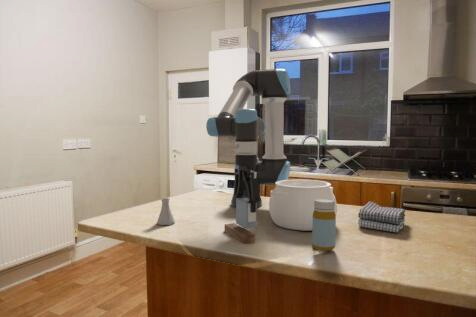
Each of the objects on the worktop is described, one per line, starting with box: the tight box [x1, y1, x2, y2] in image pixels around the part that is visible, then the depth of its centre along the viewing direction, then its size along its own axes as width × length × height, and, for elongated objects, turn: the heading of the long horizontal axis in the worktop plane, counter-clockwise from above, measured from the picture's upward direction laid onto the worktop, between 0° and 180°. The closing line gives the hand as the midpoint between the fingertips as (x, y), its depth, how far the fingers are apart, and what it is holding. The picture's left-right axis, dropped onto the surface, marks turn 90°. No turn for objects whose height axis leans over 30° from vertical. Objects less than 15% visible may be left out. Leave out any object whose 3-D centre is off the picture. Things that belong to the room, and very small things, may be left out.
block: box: [224, 222, 256, 244], centre depth 116 cm, size 4×16×2 cm, turn 26°
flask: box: [156, 197, 176, 226], centre depth 133 cm, size 7×7×10 cm
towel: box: [357, 200, 406, 233], centre depth 131 cm, size 15×18×8 cm
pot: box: [268, 178, 338, 232], centre depth 133 cm, size 29×26×16 cm
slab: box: [235, 198, 258, 230], centre depth 117 cm, size 4×8×9 cm, turn 25°
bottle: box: [311, 199, 337, 252], centre depth 104 cm, size 7×7×15 cm
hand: (245, 218), depth 117 cm, fingers closed on slab, 8 cm apart
